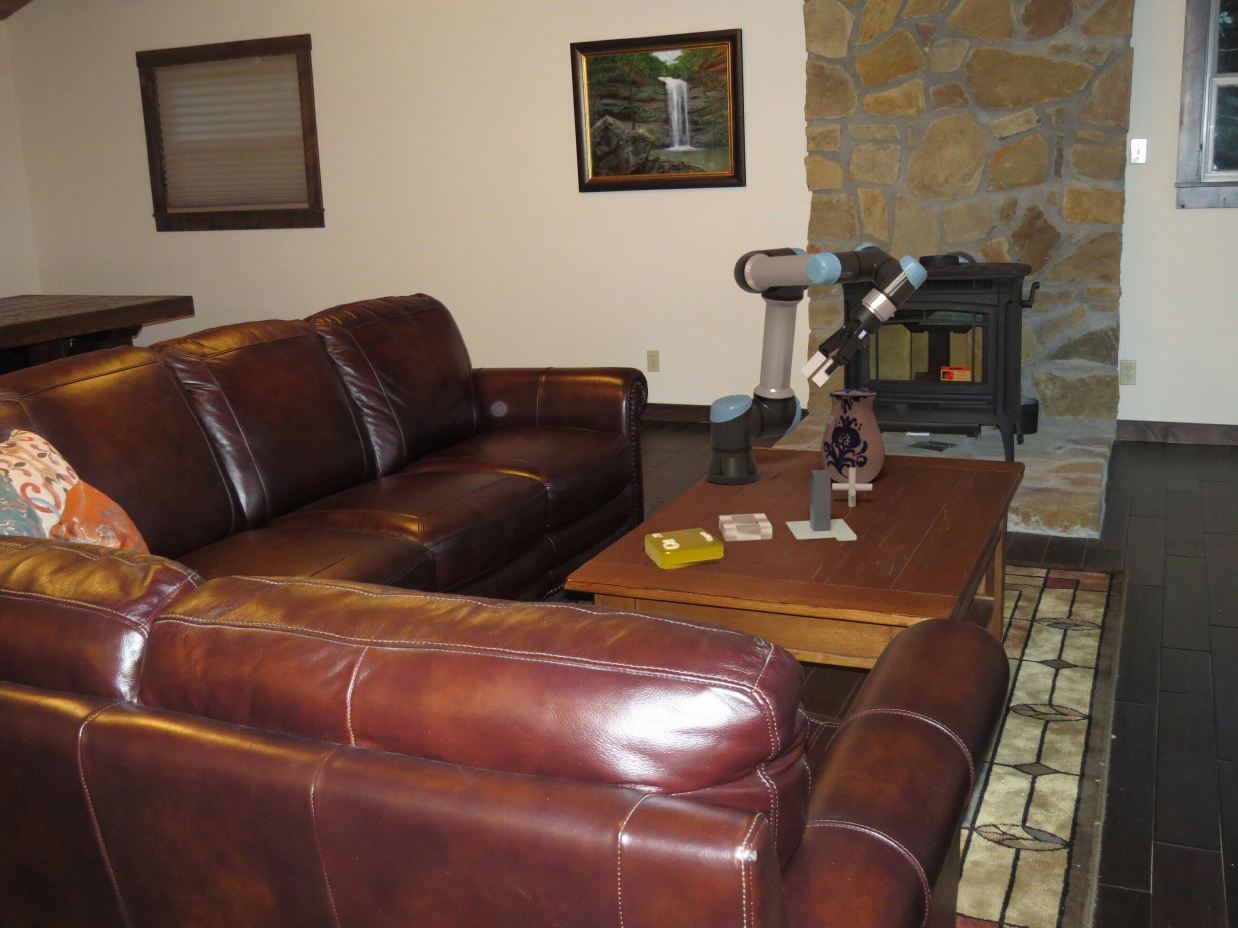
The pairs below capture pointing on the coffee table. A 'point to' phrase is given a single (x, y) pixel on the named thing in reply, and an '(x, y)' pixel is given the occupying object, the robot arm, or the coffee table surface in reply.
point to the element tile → (682, 547)
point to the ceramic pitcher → (852, 437)
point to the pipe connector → (852, 487)
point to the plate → (836, 530)
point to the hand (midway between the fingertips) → (809, 378)
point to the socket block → (745, 527)
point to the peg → (820, 500)
